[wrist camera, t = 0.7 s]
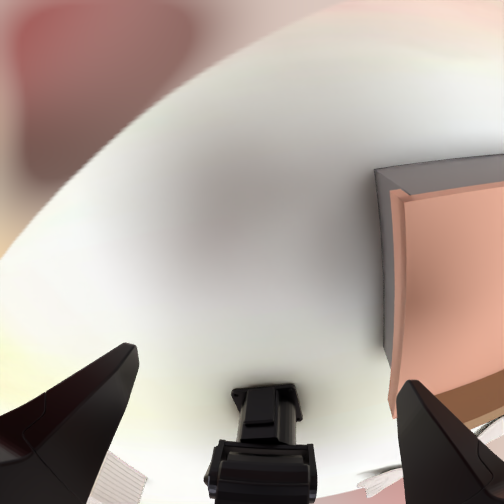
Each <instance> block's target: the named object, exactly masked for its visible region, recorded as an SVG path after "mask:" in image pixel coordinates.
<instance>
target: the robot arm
mask: <svg viewBox="0 0 504 504" xmlns="http://www.w3.org/2000/svg"><path fill="white" fill-rule="evenodd" d="M138 369H139V358H138V351H137V347H136V345H134V344H130V343H122V344H121V345H119V346H118V347H116V348H114V349H113V350H111V351H110V352H108V353H106V354H105V355H103V356H102V357H100V358H99V359H97V360H95V361H94V362H92V363H91V364H89V365H87V366H86V367H84V368H83V369H81V370H79V371H78V372H76V373H75V374H73V375H71V376H70V377H68V378H67V379H65V380H63V381H62V382H60V383H59V384H57V385H55V386H54V387H52V388H51V389H49V390H47V391H46V393H45V392H44V393H42V394H41V395H39V396H38V397H36V398H34V399H33V400H31V401H29V402H27V403H26V404H24V405H22V406H20V407H18V408H16V409H14V410H12V411H10V412H8V413H5V414H3V415H1V416H0V504H86V503H87V501H88V498H89V495H90V493H91V490H92V488H93V485H94V483H95V480H96V478H97V475H98V473H99V470H100V468H101V466H102V463H103V461H104V458H105V456H106V454H107V451H108V449H109V446H110V444H111V442H112V439H113V437H114V435H115V432H116V430H117V428H118V426H119V423H120V421H121V419H122V416H123V414H124V412H125V409H126V407H127V404H128V401H129V398H130V395H131V391H132V388H133V385H134V382H135V378H136V375H137V372H138ZM231 396H232V398H233V400H234V402H235V404H236V406H237V408H238V410H239V412H240V419H239V426H238V433H237V440H236V442H232V441H226V440H221V439H220V440H219V444H218V446H216V447H214V450H213V455H212V460H211V463H210V465H209V467H208V470H207V472H206V474H205V476H204V483H205V484H206V485H207V486H208V491H209V497H210V498H212V499H215V504H312V503H314V502H315V499H316V494H317V469H316V462H315V454H314V447H313V444H307V445H296V422H298V421H301V420H302V419H303V418H302V412H301V408H300V404H299V399H298V395H297V391H296V387H295V385H293V384H287V385H278V386H269V387H259V388H248V389H235V390H232V393H231ZM396 410H397V428H398V441H399V448H400V455H401V462H402V470H403V479H404V488H405V499H406V504H504V462H503V461H502V460H501V459H500V458H499V457H498V456H497V455H495V454H494V453H493V452H492V451H491V450H490V449H489V448H488V447H487V446H486V445H485V444H484V443H483V442H482V441H481V440H480V439H478V437H477V436H476V435H475V434H474V433H473V432H471V431H470V430H469V429H468V428H467V427H466V426H465V425H464V424H463V423H462V422H461V421H460V420H459V419H458V418H457V417H456V416H455V415H454V414H453V413H452V412H451V411H450V410H449V409H448V408H447V407H446V406H445V405H444V404H443V403H442V402H441V401H440V400H439V399H438V398H437V397H436V396H434V395H433V394H432V393H431V392H430V391H429V390H428V389H427V388H426V387H425V386H424V385H423V384H422V383H421V382H420V381H419V380H407V381H406V382H405V383H404V385H403V386H402V388H401V390H400V391H399V393H398V394H397V397H396Z"/></svg>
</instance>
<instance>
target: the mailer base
mask: <svg viewBox="0 0 504 504" xmlns="http://www.w3.org/2000/svg"><path fill="white" fill-rule="evenodd" d="M374 172H375V180H376V187H377V196H378V205H379V216H380V227H381V240H382V257H383V281H384V340H383V347H384V350H385V353H386V356H387V359H388V362H389V365H390V368H391V364H392V350H393V333H394V301H395V275H394V242H393V225H392V211H391V200H390V191H391V190H397V189H401V190H403V191H404V192H405V193H407V194H408V195H415V194H422V193H428V192H434V191H440V190H447V189H453V188H460V187H467V186H473V185H480V184H487V183H494V182H501V181H504V154H497V155H485V156H475V157H465V158H455V159H446V160H438V161H430V162H422V163H414V164H407V165H400V166H393V167H386V168H379V169H374Z"/></svg>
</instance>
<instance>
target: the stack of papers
mask: <svg viewBox="0 0 504 504" xmlns="http://www.w3.org/2000/svg"><path fill="white" fill-rule="evenodd" d="M146 480H147V477H146V476H145V475H143V474H142V473H140V472H139V471H137V470H136V469H134V468H133V467H131V466H130V465H128V464H127V463H125V462H124V461H123V460H121V459H120V458H119V457H117V456H116V455H114V454H113V453H112V452H110V451H107V454H106V456H105V458H104V461H103V463H102V466H101V468H100V470H99V473H98V475H97V478H96V480H95V483H94V485H93V488H92V490H91V493H90V495H89V498H88V501H87V503H86V504H138V503H140V500H139V499H141V495H142V493H143V492H142V491H143V489H144V488H143V487H144V486H145V483H146Z"/></svg>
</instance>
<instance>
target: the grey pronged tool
mask: <svg viewBox="0 0 504 504" xmlns="http://www.w3.org/2000/svg"><path fill="white" fill-rule="evenodd" d="M503 435H504V416H503V417H501V418H499V419H498V420H496V421H495V422H494V423H492V424H491V425H490V426H489V427H487V428H486V429H485V430H484V431H483V432H482V433H481V434H480V435H479V436H478V439H480V440H481V441H482V442H483V443H484V444H487V443H489V442H491V441H493V440H495V439H497V438H499V437H501V436H503ZM402 477H403V470H402V468H398V469H393V470H390V471H387V472H384V473H382V474H379V475H376V476H374V477H371V478H369V479H366V480H364V481H362V482H360V483H358V484H357V487H358V488H359V487H362V488H363V487H365V489H367V488H368V489H367V490H366V492H367V493H366V494H367V495H366V497H367V498H369V497H372V496H374V495H375V494H377V493H379V492H380V491H381V490H383V489H384V488H386V487H387V486H389V485H391V484H393V483H395V482H396V481H398V480H399V479H401V478H402Z"/></svg>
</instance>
